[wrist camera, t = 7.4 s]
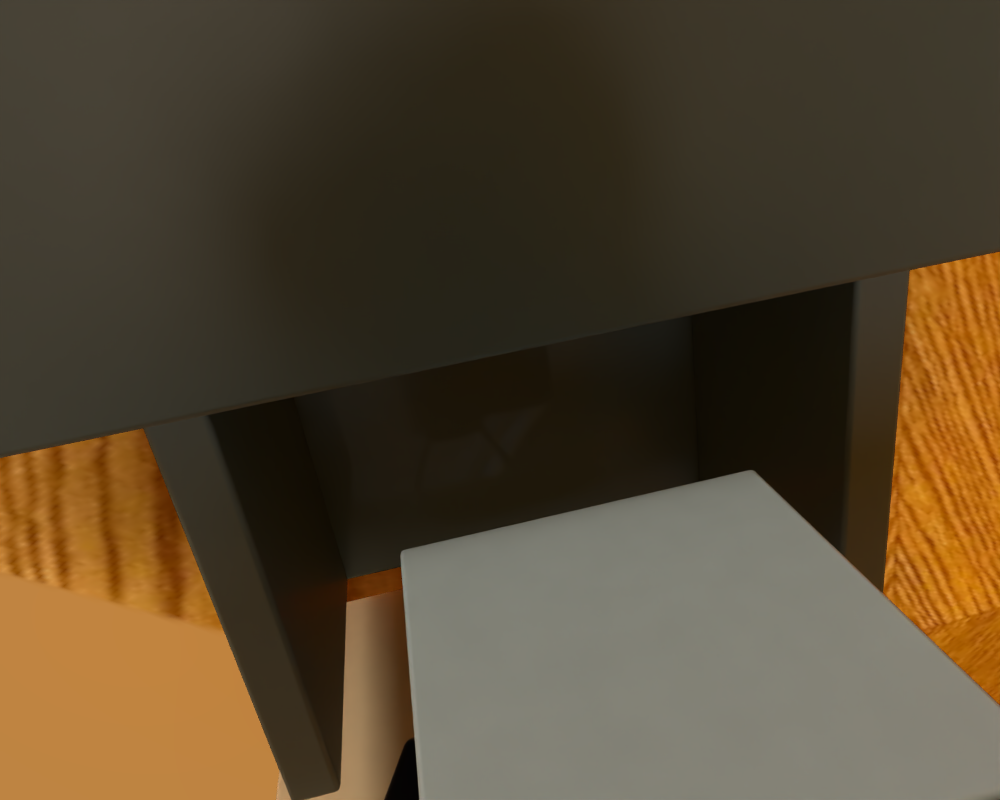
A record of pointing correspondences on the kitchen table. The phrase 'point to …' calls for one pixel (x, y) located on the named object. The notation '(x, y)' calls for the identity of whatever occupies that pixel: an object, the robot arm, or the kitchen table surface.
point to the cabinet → (451, 182)
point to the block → (680, 662)
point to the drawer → (510, 486)
